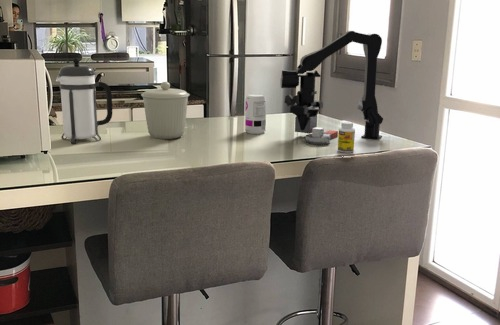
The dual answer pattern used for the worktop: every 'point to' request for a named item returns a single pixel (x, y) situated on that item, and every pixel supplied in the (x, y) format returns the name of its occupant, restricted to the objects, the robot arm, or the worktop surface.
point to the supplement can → (255, 114)
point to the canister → (165, 111)
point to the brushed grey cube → (309, 124)
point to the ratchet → (320, 136)
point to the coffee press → (81, 102)
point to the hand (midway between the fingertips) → (305, 128)
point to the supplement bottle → (346, 137)
